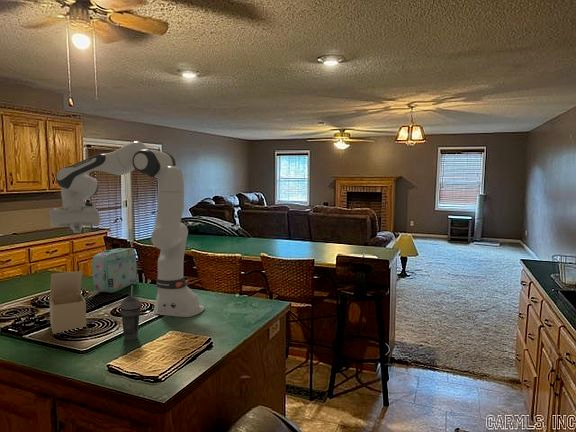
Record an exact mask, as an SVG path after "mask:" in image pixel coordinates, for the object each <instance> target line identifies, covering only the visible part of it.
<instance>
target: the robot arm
mask: <svg viewBox="0 0 576 432" xmlns="http://www.w3.org/2000/svg"><path fill="white" fill-rule="evenodd" d="M134 170H135V171H136V172H138V173H140V174H143V175H144V176H147V177H150V178H153V177H155V178H156V180H157V211H156V217H155V221H154V228H153V231H152V232H151V235H150V240H151V243H152V244H153V246H154V247H155V248H157V249H159V250H160V251H159V252H160V253H159V256H158V258H157V278H156V288H157V289H156V291H157V292H156V298H155V304H154V307H153V311H154V313H156V314H155V315H158V314H160V315H159V316H169V317H177V318H178V317H180V318H181V317H182V318H190V317H194V316H196V315H198V314H199V315H200V313H202V312H203V311H204V310H205V306H204V305H201V304H200V300H199V296H198V295H197V294H196V293H195V292H194V291H193V290H192V289H191V288H190V287H188V286H187V283H188V282H189V279H185V277H184V261H185V260H184V257H185V252H186V247H187V239H188V235H189V229H188V227H187V225H186V224H185V223H183V222H182V217H183V213H184V210H185V183H184V175H183V172H182V170H181V169H180V168H179V167H177V165H176V159H175V158H174V156H173V155H172V154H171V153H168V152H166V151H160V150H157V149H148V147H147V146H146V145H145V143H143V142H141V141H132V142H130V143H127V144H125V145H124V146H122V147H120V148H118V149H115V150H114V151H111V152H107V153H99V154H95V155H92V156H90V157H87V158H85V159H83V160H81V161H79V162H76V163H74V164H70V165H67V166H64V167H62V168H60V169H59V170H58V171H57V173H56V174H55V179H56V183H57V185H58V186H59V187H60V192H61V193H60V196H61V200H62V208H52V209H49V210H48V212H47V213H48V216H49V217H50V219H49V223H50V226H51V227H52V228H61V227H69V228H70V229H71V230H72V231H73V234H82V229H83V227H84V226H85V227H87V226H88V227H89V226H99V225H100V224H101V216H100V212H99V210H97V208H96V204H95V203H92V202H87V201H85V200H89V199H90V198H92V197H94V196H96V194H97V193H98V190H99V181H98V179H96V178H94V177H92V176H90V175H88V174H89V173H91V172H96V171H98V172H104V173H109V174H112V175H116V176H117V175H118V176H124V175H127V174H130V173H131V172H133V171H134Z"/></svg>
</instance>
